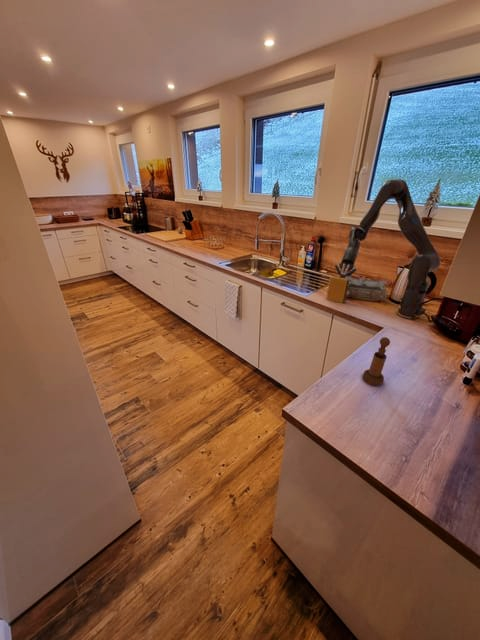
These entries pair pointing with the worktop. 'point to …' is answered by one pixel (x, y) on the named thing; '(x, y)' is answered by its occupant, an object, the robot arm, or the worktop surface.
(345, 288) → the tan upright box
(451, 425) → the worktop surface
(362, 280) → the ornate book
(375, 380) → the brown knobbed pedestal
